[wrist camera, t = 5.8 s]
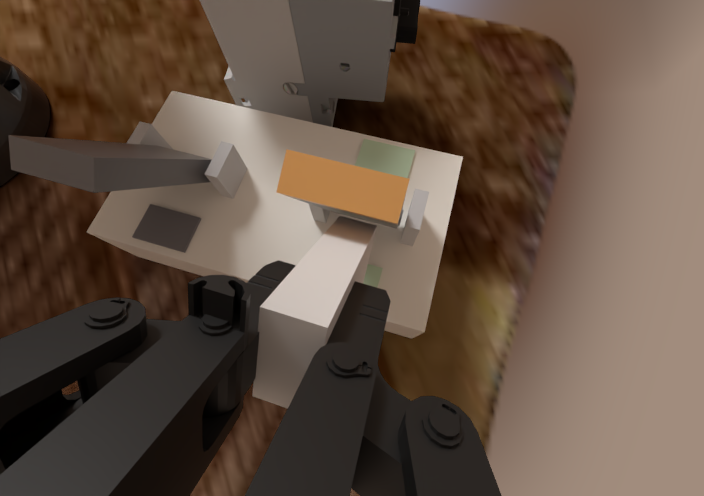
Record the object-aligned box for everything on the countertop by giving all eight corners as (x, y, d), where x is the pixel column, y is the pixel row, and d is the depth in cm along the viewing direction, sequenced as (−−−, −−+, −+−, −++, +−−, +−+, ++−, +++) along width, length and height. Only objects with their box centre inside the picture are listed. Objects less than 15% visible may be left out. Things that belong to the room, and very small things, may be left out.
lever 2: (333, 212, 21) (273, 191, 10) (339, 190, 20) (283, 148, 10) (398, 229, 20) (400, 224, 10) (404, 207, 20) (413, 179, 10)
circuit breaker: (400, 136, 29) (438, -84, 15) (243, 120, 30) (138, -99, 16) (407, 71, 31) (445, -170, 17) (262, 59, 32) (186, -178, 18)
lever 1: (166, 167, 22) (9, 169, 14) (167, 145, 22) (6, 134, 13) (222, 181, 22) (96, 193, 13) (224, 160, 21) (96, 158, 13)
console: (136, 256, 26) (49, 214, 18) (202, 134, 29) (151, 60, 22) (411, 338, 23) (434, 327, 16) (445, 193, 27) (475, 131, 20)
